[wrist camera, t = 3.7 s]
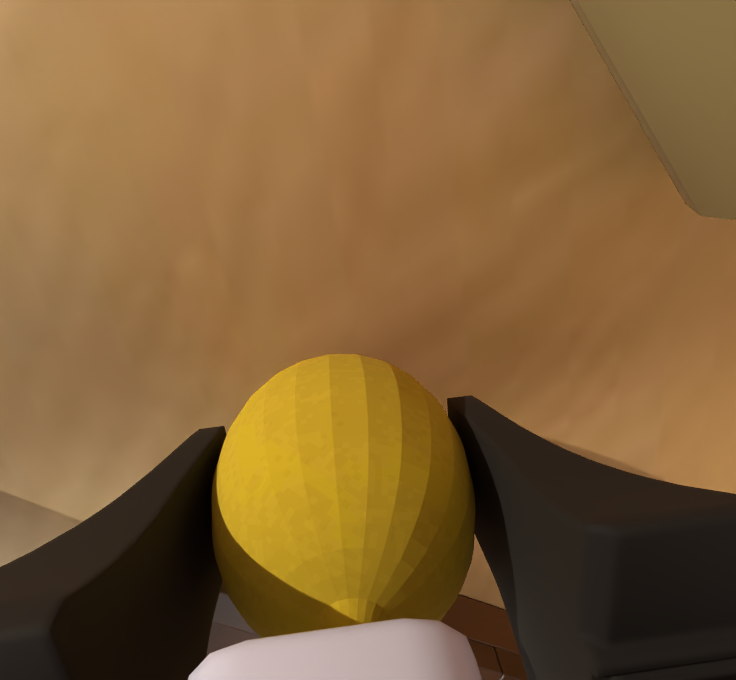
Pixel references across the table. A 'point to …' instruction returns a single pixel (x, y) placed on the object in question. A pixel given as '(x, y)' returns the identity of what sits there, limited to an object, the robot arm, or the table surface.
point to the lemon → (342, 500)
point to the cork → (677, 87)
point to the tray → (466, 616)
